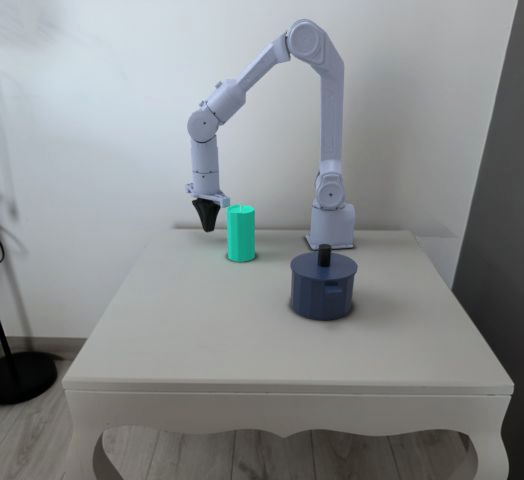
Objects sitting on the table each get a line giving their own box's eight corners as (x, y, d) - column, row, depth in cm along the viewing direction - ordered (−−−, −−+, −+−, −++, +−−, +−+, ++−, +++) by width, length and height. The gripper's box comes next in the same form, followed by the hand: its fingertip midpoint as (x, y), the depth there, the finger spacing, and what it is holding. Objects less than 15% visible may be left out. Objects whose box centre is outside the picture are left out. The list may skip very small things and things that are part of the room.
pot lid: (346, 255, 95) (348, 232, 92) (365, 283, 85) (368, 258, 83) (284, 258, 93) (285, 235, 91) (297, 287, 84) (298, 261, 81)
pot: (338, 283, 100) (341, 247, 96) (362, 326, 87) (367, 286, 83) (283, 287, 99) (284, 250, 95) (300, 330, 86) (302, 290, 82)
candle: (251, 262, 109) (251, 207, 102) (224, 260, 110) (222, 205, 103) (257, 251, 113) (257, 198, 107) (231, 249, 114) (229, 196, 108)
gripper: (171, 166, 113) (177, 225, 120) (209, 180, 103) (213, 244, 111) (198, 161, 116) (202, 219, 124) (237, 174, 107) (238, 236, 115)
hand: (209, 230), depth 118 cm, fingers closed
